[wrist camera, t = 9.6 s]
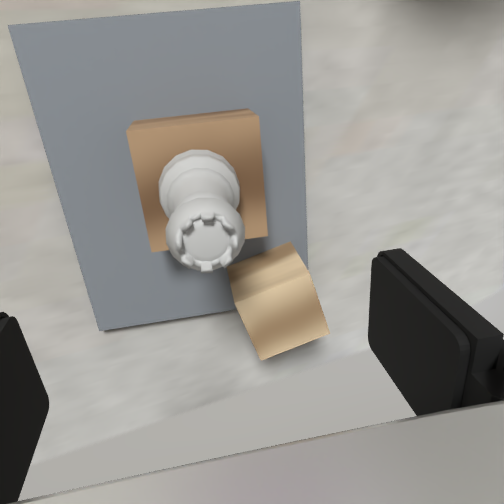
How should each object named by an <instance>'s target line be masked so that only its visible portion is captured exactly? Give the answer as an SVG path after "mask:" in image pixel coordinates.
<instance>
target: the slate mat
mask: <svg viewBox="0 0 504 504" xmlns="http://www.w3.org/2000/svg"><path fill="white" fill-rule="evenodd" d="M8 28H9V32H10V35H11V38H12V42H13V45H14V48H15V52H16V55H17V58H18V62H19V65H20V68H21V72H22V75H23V78H24V82H25V85H26V88H27V92H28V95H29V98H30V102H31V105H32V108H33V112H34V115H35V118H36V122H37V125H38V128H39V132H40V135H41V138H42V142H43V145H44V148H45V152H46V155H47V158H48V162H49V165H50V168H51V172H52V175H53V178H54V182H55V185H56V188H57V192H58V195H59V198H60V202H61V205H62V208H63V212H64V215H65V218H66V222H67V225H68V228H69V232H70V235H71V238H72V242H73V245H74V248H75V252H76V255H77V258H78V262H79V265H80V268H81V272H82V275H83V278H84V282H85V285H86V288H87V292H88V295H89V298H90V302H91V305H92V308H93V312H94V315H95V318H96V322H97V325H98V328H99V331H103V330H110V329H116V328H122V327H129V326H135V325H141V324H148V323H154V322H160V321H166V320H173V319H179V318H185V317H192V316H198V315H204V314H211V313H217V312H223V311H230V310H236V309H237V308H236V305H235V303H234V299H233V294H232V290H231V285H230V280H229V276H228V271H227V267H226V268H224V267H220V268H218V269H215V270H213V273H201V271H198V270H195V269H192V268H190V269H188V268H187V267H186V266H184V265H182V264H181V263H180V262H179V261H178V260H177V259H175V258H174V257H173V256H172V254H171V252H170V250H166V251H159V252H151V247H150V242H149V238H148V233H147V228H146V224H145V219H144V214H143V209H142V205H141V200H140V195H139V190H138V186H137V181H136V176H135V172H134V167H133V162H132V157H131V153H130V148H129V143H128V138H127V134H126V130H127V129H128V128H129V126H130V125H131V124H132V122H133V121H136V120H145V119H154V118H163V117H172V116H182V115H191V114H200V113H209V112H218V111H228V110H237V109H246V108H248V109H250V110H251V111H252V112H254V113H255V114H256V115H258V116H259V123H260V136H261V150H262V163H263V177H264V190H265V204H266V217H267V230H268V236H265V237H258V238H251V239H245V242H244V244H243V246H242V248H241V250H240V252H239V254H238V256H236V257H235V258H234V259H233V262H231V263H230V264H229V265H228V266H230V265H232V264H235V263H237V262H240V261H242V260H245V259H247V258H250V257H252V256H255V255H257V254H260V253H262V252H265V251H267V250H270V249H272V248H275V247H277V246H280V245H282V244H285V243H288V242H290V241H291V243H292V245H293V246H294V248H295V250H296V251H297V253H298V255H299V256H300V258H301V260H302V261H303V263H304V265H305V266H306V268H307V270H308V254H307V221H306V187H305V154H304V120H303V87H302V53H301V20H300V1H293V2H281V3H269V4H257V5H245V6H233V7H221V8H209V9H197V10H185V11H173V12H161V13H149V14H137V15H125V16H113V17H100V18H88V19H76V20H64V21H52V22H40V23H28V24H16V25H8Z"/></svg>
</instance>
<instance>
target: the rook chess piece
mask: <svg viewBox="0 0 504 504" xmlns="http://www.w3.org/2000/svg"><path fill="white" fill-rule="evenodd" d="M159 198H160V204H161V206H162V208H163V210H164V212H165V214H166V216H167V217H168V218H169V221H168V224H167V226H166V228H165V229H166V244H167V246H168V248H169V250H170V252H171V254H172V256H173V257H174V258H175V259H177V260H178V261H179V262H180V263H181V264H182V265H184V266H186V267H187V268H188V269H190V268H192V269H195V270H198V271H201V273H213V270H215V269H218V268H220V267H224V268H226V267H227V266H228V265H229V264H230V263H231V262H233V259H234V258H235V257H236V256H238V254H239V252H240V250H241V248H242V246H243V244H244V242H245V226H244V224H243V221H242V218H241V216H240V214H239V213H238V212H237V211H236V209H237V206H238V204H239V201H240V186H239V180H238V178H237V175H236V173H235V170H234V168H233V167H232V166H231V165H230V164H229V163H228V161H227V160H226V159H225V158H224V157H223V156H220V155H218V154H216V153H214V152H211V151H209V150H189V151H186V152H184V153H181V154H179V155H176V156H175V157H174V158H173V159H172V160H171V161H170V162H169V163H168V164H167V165H166V166H165V167H164V169H163V172H162V174H161V177H160V179H159Z"/></svg>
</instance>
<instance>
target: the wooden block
mask: <svg viewBox="0 0 504 504" xmlns="http://www.w3.org/2000/svg"><path fill="white" fill-rule="evenodd" d="M126 134H127V138H128V143H129V148H130V153H131V157H132V162H133V167H134V172H135V176H136V181H137V186H138V190H139V195H140V200H141V205H142V209H143V214H144V219H145V224H146V228H147V233H148V238H149V242H150V247H151V252H159V251H166V250H169V248H168V246H167V244H166V229H165V228H166V226H167V224H168V221H169V218H168V217H167V216H166V214H165V212H164V210H163V208H162V206H161V204H160V198H159V179H160V177H161V174H162V172H163V169H164V167H165V166H166V165H167V164H168V163H169V162H170V161H171V160H172V159H173V158H174V157H175V156H176V155H179V154H181V153H184V152H186V151H189V150H209V151H211V152H214V153H216V154H218V155H220V156H223V157H224V158H225V159H226V160H227V161H228V163H229V164H230V165H231V166H232V167H233V168H234V170H235V173H236V175H237V178H238V180H239V186H240V201H239V204H238V206H237V209H236V211H237V212H238V213H239V214H240V216H241V218H242V221H243V224H244V226H245V239H251V238H258V237H265V236H268V230H267V217H266V204H265V190H264V177H263V163H262V150H261V136H260V123H259V116H258V115H256V114H255V113H254V112H252V111H251V110H250V109H248V108H246V109H237V110H228V111H218V112H209V113H200V114H191V115H182V116H172V117H163V118H154V119H145V120H136V121H133V122H132V124H131V125H130V126H129V128H128V129H127V130H126Z"/></svg>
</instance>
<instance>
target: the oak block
mask: <svg viewBox="0 0 504 504" xmlns="http://www.w3.org/2000/svg"><path fill="white" fill-rule="evenodd" d="M227 271H228V276H229V280H230V285H231V290H232V294H233V299H234V303H235V305H236V308H237V310H238V312H239V314H240V316H241V318H242V321H243V323H244V325H245V327H246V329H247V332H248V334H249V336H250V338H251V340H252V342H253V345H254V347H255V349H256V351H257V353H258V356H259V358H260V360H261V361H262V360H264V359H267V358H269V357H272V356H274V355H277V354H279V353H282V352H284V351H287V350H289V349H292V348H295V347H297V346H300V345H302V344H305V343H307V342H310V341H312V340H315V339H317V338H320V337H322V336H325V335H328V334H330V331H329V329H328V326H327V323H326V320H325V317H324V314H323V311H322V308H321V305H320V302H319V299H318V296H317V293H316V290H315V287H314V284H313V282H312V279H311V276H310V273H309V271H308V270H307V268H306V266H305V265H304V263H303V261H302V260H301V258H300V256H299V255H298V253H297V251H296V250H295V248H294V246H293V245H292V243H291V241H290V242H288V243H285V244H282V245H280V246H277V247H275V248H272V249H270V250H267V251H265V252H262V253H260V254H257V255H255V256H252V257H250V258H247V259H245V260H242V261H240V262H237V263H235V264H232V265H230V266H227Z"/></svg>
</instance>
